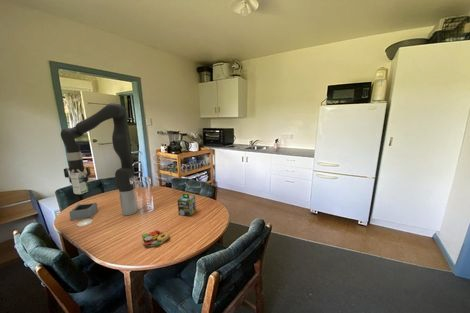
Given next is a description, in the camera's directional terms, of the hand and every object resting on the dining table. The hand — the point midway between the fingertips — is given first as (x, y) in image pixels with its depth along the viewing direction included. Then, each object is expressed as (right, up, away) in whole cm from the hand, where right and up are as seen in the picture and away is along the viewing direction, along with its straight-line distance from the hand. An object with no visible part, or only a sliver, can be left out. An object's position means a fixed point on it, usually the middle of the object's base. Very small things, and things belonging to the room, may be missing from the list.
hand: (79, 182), depth 129 cm
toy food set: (+61, -29, -23) cm, 71 cm away
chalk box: (+71, -23, +7) cm, 75 cm away
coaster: (+8, -25, -5) cm, 27 cm away
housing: (0, -23, +5) cm, 24 cm away
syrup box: (0, -7, +1) cm, 7 cm away
